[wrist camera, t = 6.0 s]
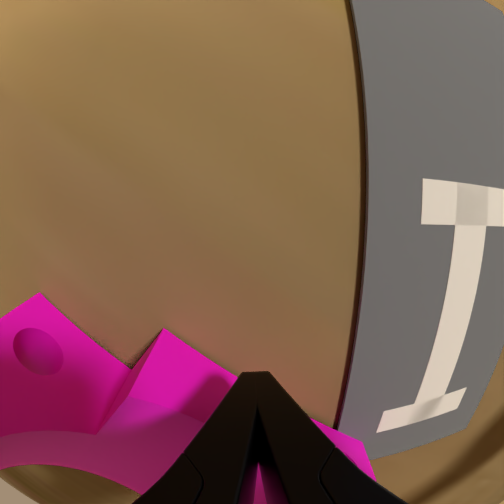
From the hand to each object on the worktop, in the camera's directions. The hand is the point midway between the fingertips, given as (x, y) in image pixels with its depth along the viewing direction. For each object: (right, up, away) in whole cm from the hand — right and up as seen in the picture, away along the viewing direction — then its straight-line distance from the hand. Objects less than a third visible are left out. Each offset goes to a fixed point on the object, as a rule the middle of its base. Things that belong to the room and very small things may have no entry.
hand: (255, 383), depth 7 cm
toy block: (-3, -3, +3) cm, 5 cm away
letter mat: (+8, +4, +1) cm, 9 cm away
